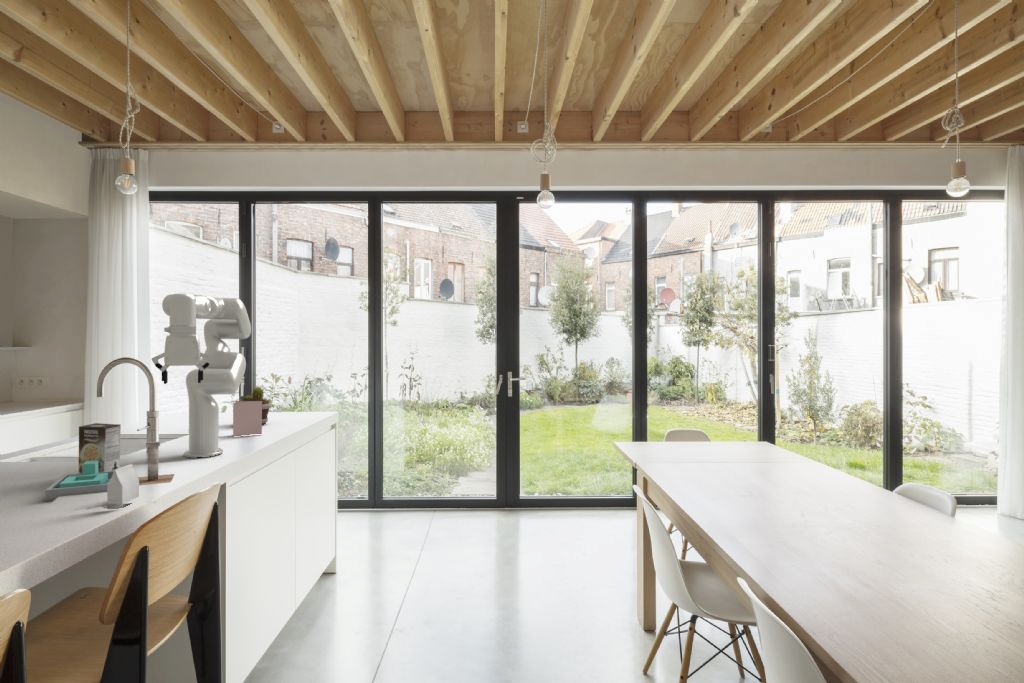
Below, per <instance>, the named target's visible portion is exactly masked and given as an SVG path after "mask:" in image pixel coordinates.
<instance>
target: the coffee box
mask: <svg viewBox="0 0 1024 683" xmlns="http://www.w3.org/2000/svg"><path fill="white" fill-rule="evenodd" d="M121 429H122V428H121V424H117V423H114V424H113V423H100V422H95V423H90V424H86V425H81V426H78V474H82V464H83V463H85V462H86V461H98V472H106V471H114V470H116V469H118V468H121Z"/></svg>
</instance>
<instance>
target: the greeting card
mask: <svg viewBox="0 0 1024 683" xmlns="http://www.w3.org/2000/svg"><path fill="white" fill-rule="evenodd" d="M232 404H233V405H232V408H233V410H232V413H233V414H232V437H233V436H241V435H250V434H262V435H263V425H262V401H241V400H235V402H233V403H232Z"/></svg>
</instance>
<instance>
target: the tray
mask: <svg viewBox="0 0 1024 683" xmlns="http://www.w3.org/2000/svg"><path fill="white" fill-rule="evenodd" d="M113 472H114V471H106V472H98V473H108V479H109V480H108V482H107V483H106V484H99V485H88V486H77V487H65V488H60V483H61V482H62V481H64V480H65V479H66V478H67V477H68V476H74V475H82V474H79V473H72V474H64V475H62V476H61V477H59V478H58V479H57V480H56V481H55V482H54V483H52V484H51V485H50V486H48V488H46V489H45V493H44V494H45V495H44V498H45V502H50V501H49V500H54V501H56V500H57V499H58V498H59V497H61V496H71V495H72V496H73V495H82V494H92V493H93V494H94V493H101V492H103V493H104V492H107V486H108V484H109V482H110V480H111V478H112V475H113Z"/></svg>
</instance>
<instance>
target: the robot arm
mask: <svg viewBox="0 0 1024 683" xmlns="http://www.w3.org/2000/svg"><path fill="white" fill-rule="evenodd" d="M161 303H162V304H161V307H162V310H163V312H164V314H165V315H167V316H168V317H169V326H168V327H164V329H163V331H164V332H166V333H169V335H167V334H166V337H165V342H164V352H163V353H161V354H158V355H156V356H153V357H152V358H151V362H152V363H153V364H154V365H155V367H156V368H157V369H158V370H159V371H161V382H163V384H164V385H166V384H168V382H169V381H168V376H169V375H168V371H167V370H168V369H169V367H170V366H171V367H175V366H176V367H179V366H181V367H182V366H184V367H185V366H186V367H187V366H188V367H189V366H195V367H197V368H196V369H192V370H191V371H189V372H188V373H187V374H186V377H185V385H186V391H187V395H188V450H186V451H185V452H183V456H184V457H185V458H189V457H190V458H189V459H191V458H192V459H195V458H196V459H197V457H202V458H209V457H210V456H211V457H215V455H216V456H219V455H218V454H220V455H222V454H223V453H224V449H223V448H219V418H220V417H219V413H220V412H219V409H220V408H219V405H218V402H217V400H216V399H215V398H214V397H213V395H232V394H234V393H236V392H237V391H238V390H239V388H240V385H241V383H242V380H243V377H244V375H245V372H246V368H247V361H246V357H245V356H244V354H242V353H240V352H237V351H236V352H235V351H231V348H230V347H229V345H228V344H227V343H226V342H225V341H224V340H245V339H248V338H249V337H250V336H251V335H252V334H251V333H252V324H251V322H250V318H249V315H248V311H247V308H246V306H245V304H244V302H243V301H242V300H241V299H240V298H237V297H235V298H234V297H232V298H231V297H216V296H215V297H214V296H209V295H201V294H189V293H173V294H167V295H166V296H165V297H164V298H163V300H162V302H161ZM197 319H198V320H201V319H203V320H206V321H205V323H204V326H203V337H204V342H205V346H206V347H205V348H206V349H205V351H204V352H201V345H200V344H201V342H200V337H199V335H197ZM162 358H163V363H164V365H162V364H160V361H159V360H160V359H162ZM222 452H223V453H222ZM221 453H222V454H221Z"/></svg>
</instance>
